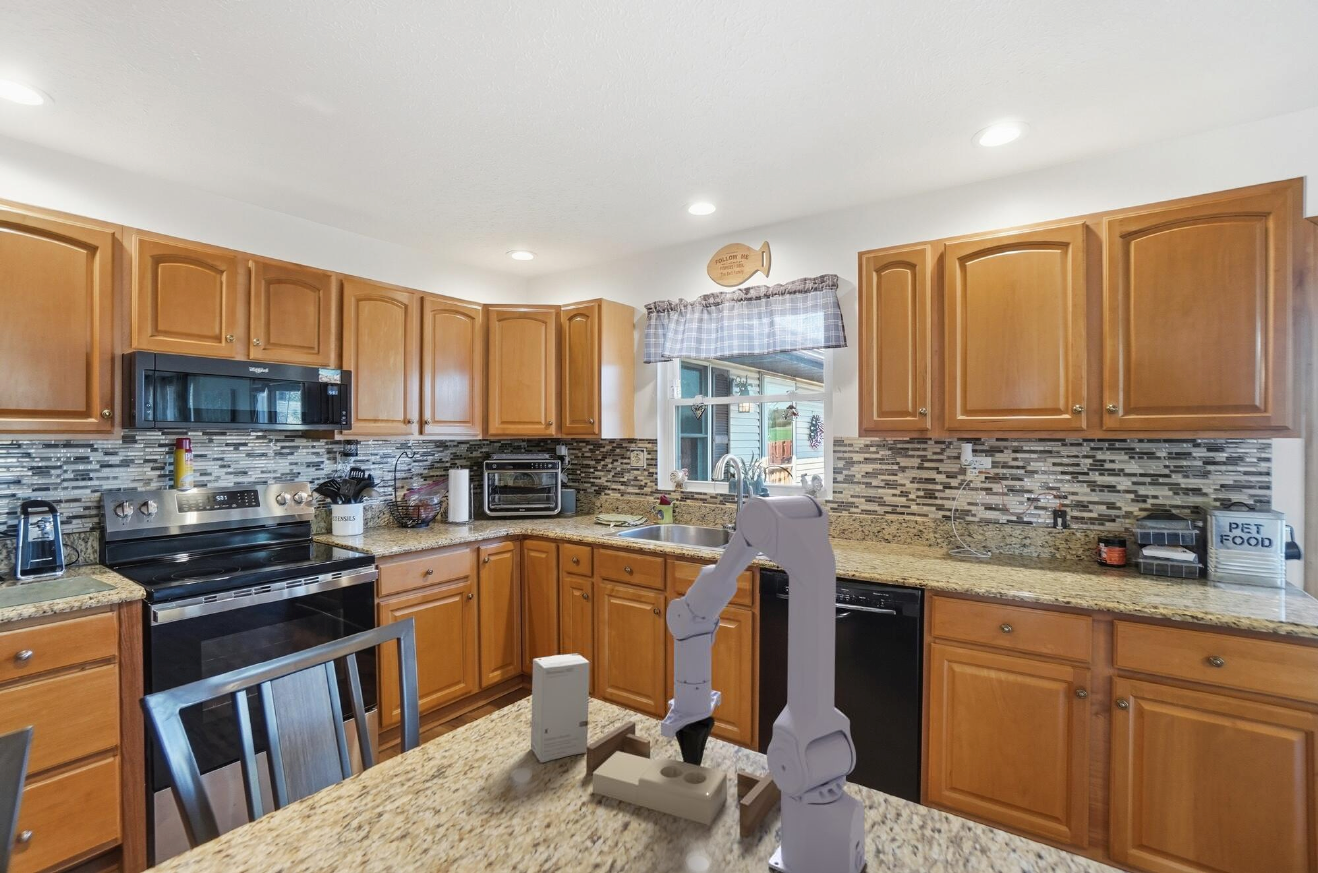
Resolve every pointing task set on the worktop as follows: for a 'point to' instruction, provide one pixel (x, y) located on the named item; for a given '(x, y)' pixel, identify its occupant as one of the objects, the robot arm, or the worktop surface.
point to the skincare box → (559, 706)
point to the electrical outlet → (663, 785)
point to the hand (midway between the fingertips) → (692, 767)
